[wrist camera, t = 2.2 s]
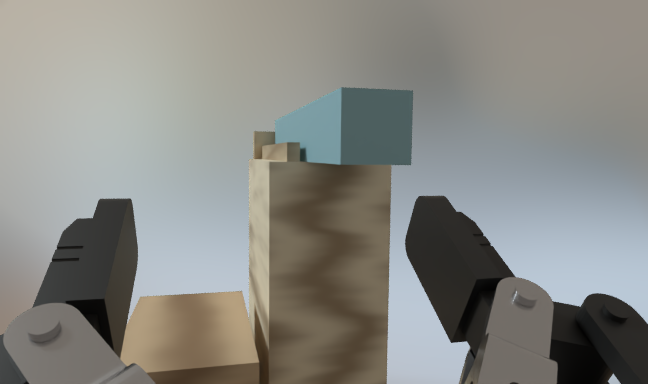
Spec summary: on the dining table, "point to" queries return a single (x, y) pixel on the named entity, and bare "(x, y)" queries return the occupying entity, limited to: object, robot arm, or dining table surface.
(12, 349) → the robot arm
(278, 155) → the birch stand
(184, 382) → the oak step
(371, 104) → the teal block
